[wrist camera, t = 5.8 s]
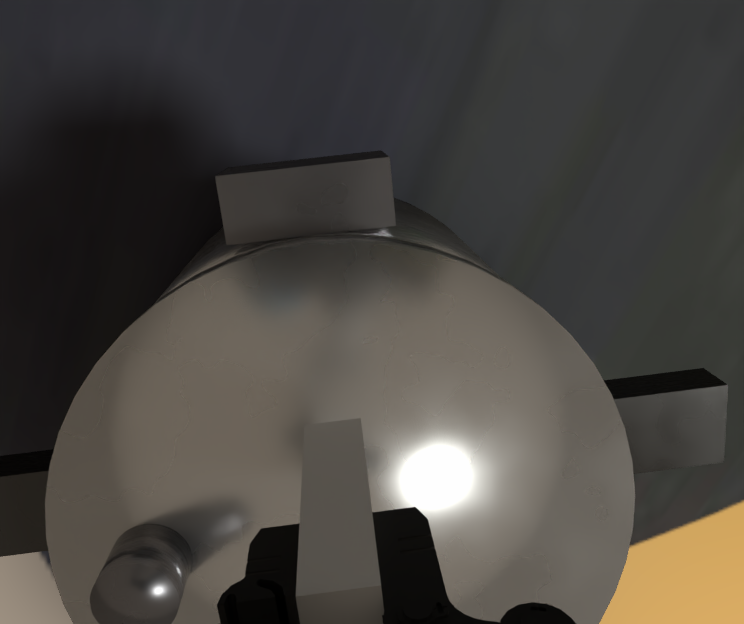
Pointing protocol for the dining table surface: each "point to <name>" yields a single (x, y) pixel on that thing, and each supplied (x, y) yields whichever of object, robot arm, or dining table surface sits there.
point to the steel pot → (401, 222)
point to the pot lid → (334, 403)
